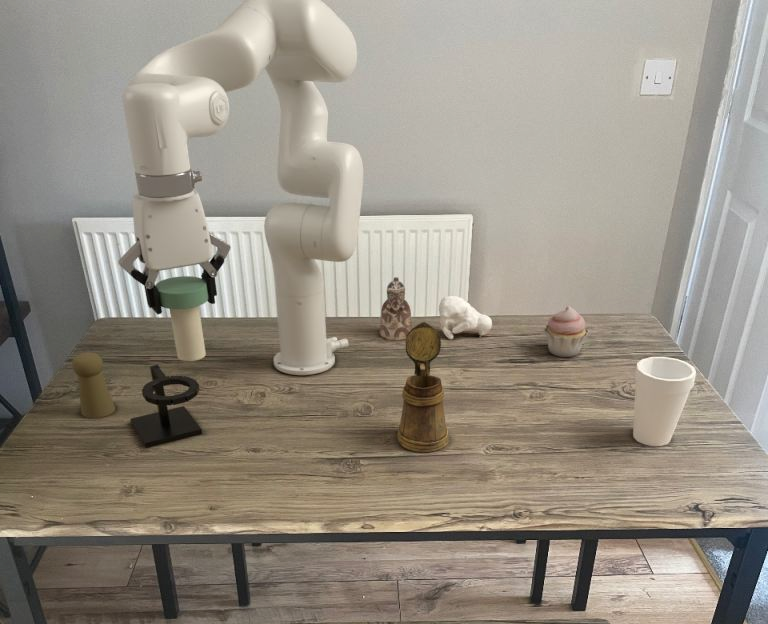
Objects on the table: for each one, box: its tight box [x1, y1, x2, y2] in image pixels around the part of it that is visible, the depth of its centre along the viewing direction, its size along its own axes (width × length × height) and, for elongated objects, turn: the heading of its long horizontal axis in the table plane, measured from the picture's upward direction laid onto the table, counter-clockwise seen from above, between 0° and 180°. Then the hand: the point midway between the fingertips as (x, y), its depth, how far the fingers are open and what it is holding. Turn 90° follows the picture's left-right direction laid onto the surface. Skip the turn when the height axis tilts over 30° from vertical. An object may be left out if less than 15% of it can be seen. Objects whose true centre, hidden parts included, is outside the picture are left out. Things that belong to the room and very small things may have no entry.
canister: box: [155, 275, 208, 362], centre depth 123 cm, size 8×8×11 cm
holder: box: [129, 364, 203, 449], centre depth 137 cm, size 10×18×12 cm, turn 29°
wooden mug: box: [397, 321, 450, 453], centre depth 136 cm, size 9×14×18 cm, turn 179°
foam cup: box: [632, 356, 697, 447], centre depth 136 cm, size 10×9×13 cm
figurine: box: [378, 276, 413, 341], centre depth 174 cm, size 7×7×12 cm
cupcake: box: [542, 305, 590, 358], centre depth 167 cm, size 9×9×10 cm
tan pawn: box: [71, 351, 116, 419], centre depth 146 cm, size 6×6×11 cm
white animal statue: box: [438, 295, 493, 340], centre depth 175 cm, size 6×8×12 cm
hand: (183, 305), depth 122 cm, fingers closed on canister, 7 cm apart
